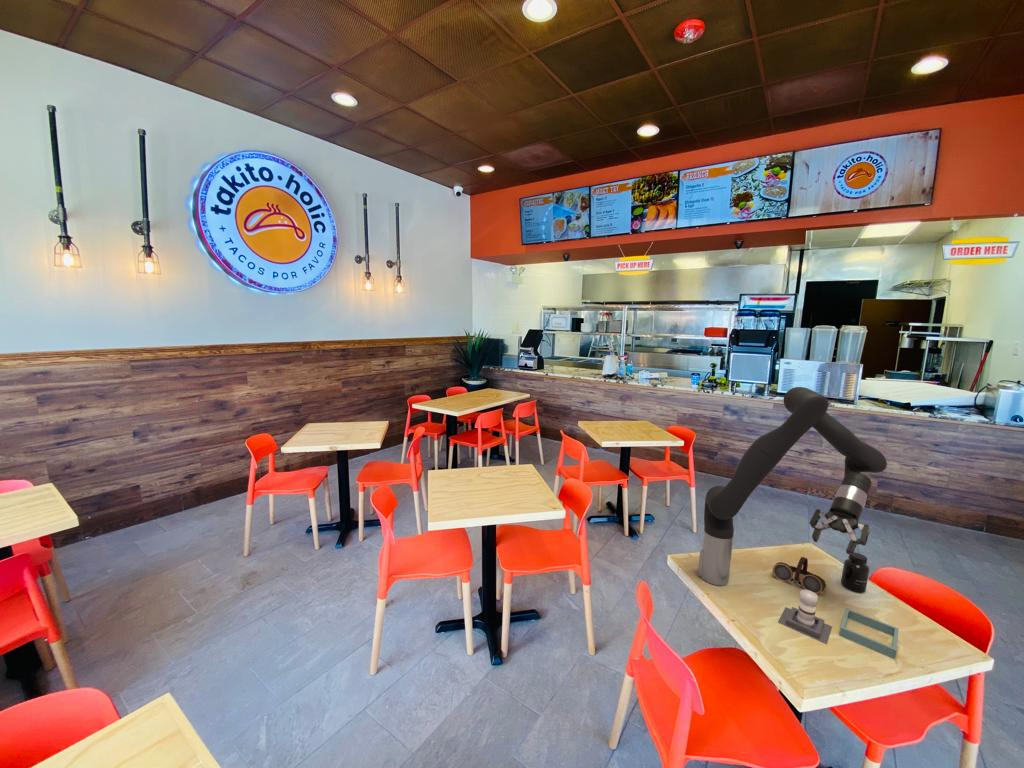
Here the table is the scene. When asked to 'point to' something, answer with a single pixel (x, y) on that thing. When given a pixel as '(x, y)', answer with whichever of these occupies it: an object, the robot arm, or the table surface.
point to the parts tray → (865, 640)
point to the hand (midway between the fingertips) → (831, 546)
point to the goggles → (807, 581)
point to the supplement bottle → (855, 573)
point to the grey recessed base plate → (818, 632)
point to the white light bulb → (807, 608)
